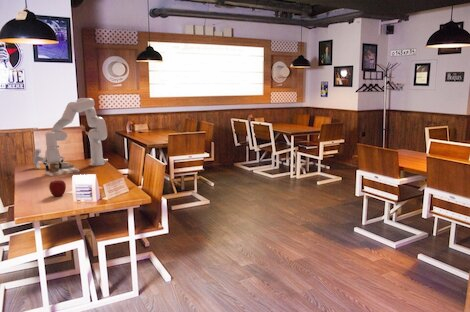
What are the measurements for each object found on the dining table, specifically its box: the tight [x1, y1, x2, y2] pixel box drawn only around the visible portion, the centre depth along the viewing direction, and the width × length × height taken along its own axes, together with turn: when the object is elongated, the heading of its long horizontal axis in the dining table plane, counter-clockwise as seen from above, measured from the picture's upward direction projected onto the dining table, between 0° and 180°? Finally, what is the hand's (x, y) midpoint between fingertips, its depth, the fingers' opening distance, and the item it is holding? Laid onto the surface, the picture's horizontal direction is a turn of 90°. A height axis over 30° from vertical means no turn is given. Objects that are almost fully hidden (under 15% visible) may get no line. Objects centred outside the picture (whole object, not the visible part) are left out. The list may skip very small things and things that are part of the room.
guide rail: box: [44, 164, 75, 172], centre depth 313 cm, size 22×1×2 cm, turn 136°
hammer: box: [32, 148, 70, 169], centre depth 330 cm, size 16×5×30 cm
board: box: [44, 167, 80, 177], centre depth 310 cm, size 22×12×2 cm, turn 136°
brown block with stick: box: [49, 163, 59, 172], centre depth 304 cm, size 4×10×6 cm, turn 46°
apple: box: [48, 180, 67, 197], centre depth 242 cm, size 10×10×10 cm
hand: (54, 169), depth 306 cm, fingers open, 9 cm apart
